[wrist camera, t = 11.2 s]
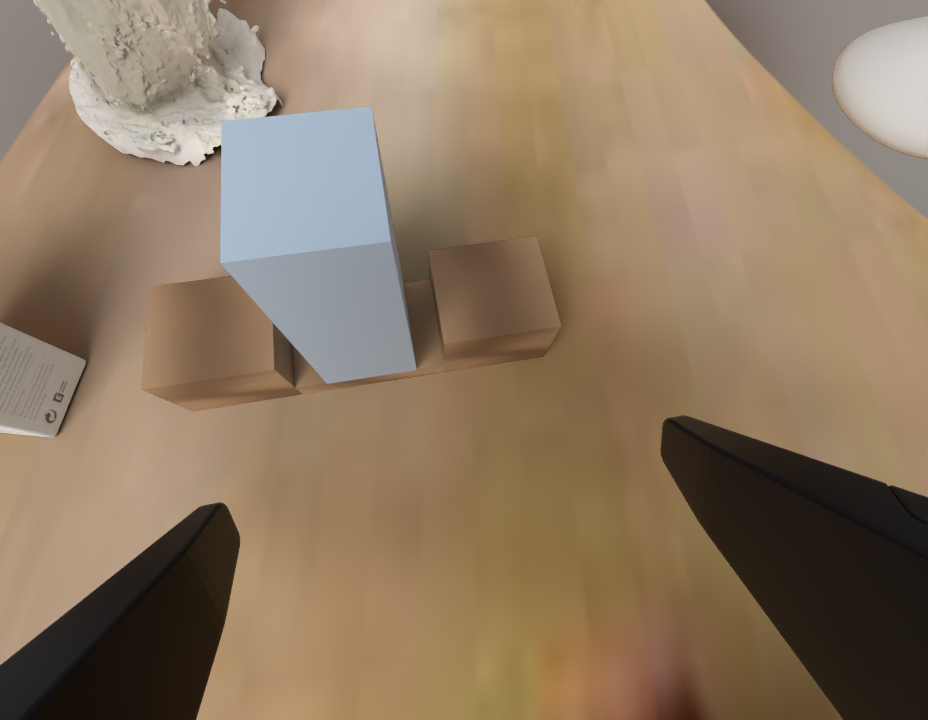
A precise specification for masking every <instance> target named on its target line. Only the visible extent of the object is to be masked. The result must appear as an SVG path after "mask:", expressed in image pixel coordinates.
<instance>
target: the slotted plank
mask: <svg viewBox="0 0 928 720" xmlns="http://www.w3.org/2000/svg"><path fill="white" fill-rule="evenodd" d="M428 259H429V273H430V280H424V281H417V282H409V283H404V287H405V294H406V300H407V307H408V314H409V320H410V327H411V334H412V340H413V347H414V354H415V361H416V367H417V370H413V371H407V372H401V373H394V374H388V375H381V376H375V377H368V378H362V379H356V380H349V381H343V382H336V383H330V384H327V383H326V382H325V381H324V380H323V379H322V377H321V376H320V375H319V374H318V373H317V372H316V371H315V370H314V368H313V367H312V366H311V365H310V364H309V363H308V362H307V360H306V359H305V358H304V357H303V356H302V355H301V354H300V353H299V351H298V350H297V349H296V348H295V347H294V346H293V345H292V344H291V342H290V341H289V340H288V339H287V338H286V337H285V336H284V334H283V333H282V332H281V331H280V330H279V329H278V328H277V327H276V325H275V324H274V323H273V322H272V321H271V320H270V319H269V318H268V316H267V315H266V314H265V313H264V312H263V311H262V310H261V309H260V307H259V306H258V305H257V304H256V303H255V302H254V301H253V299H252V298H251V297H250V296H249V295H248V294H247V293H246V292H245V290H244V289H243V288H242V287H241V286H240V285H239V284H238V283H237V281H236V280H235V279H234V278H233V277H232V276H228V277H220V278H212V279H205V280H197V281H189V282H182V283H174V284H166V285H159V286H151V287H149V292H148V306H147V320H146V334H145V349H144V363H143V377H142V390H144V391H146V392H148V393H151V394H153V395H156V396H158V397H160V398H163V399H165V400H167V401H170V402H172V403H174V404H177V405H179V406H181V407H184V408H186V409H188V410H191V411H198V410H205V409H211V408H217V407H224V406H230V405H237V404H243V403H249V402H256V401H262V400H268V399H275V398H281V397H288V396H294V395H300V394H307V393H313V392H319V391H326V390H332V389H339V388H345V387H351V386H358V385H364V384H370V383H377V382H383V381H390V380H396V379H402V378H409V377H415V376H421V375H428V374H434V373H441V372H447V371H453V370H460V369H466V368H472V367H479V366H485V365H492V364H498V363H504V362H511V361H517V360H523V359H530V358H536V357H543V356H544V355H545V353H546V352H547V350H548V348H549V346H550V345H551V343H552V341H553V340H554V338H555V336H556V335H557V333H558V331H559V330H560V328H561V323H560V319H559V315H558V312H557V308H556V305H555V301H554V297H553V294H552V290H551V286H550V283H549V279H548V275H547V272H546V268H545V264H544V261H543V257H542V254H541V250H540V246H539V243H538V239H537V236H534V237H527V238H519V239H511V240H504V241H496V242H488V243H481V244H473V245H465V246H458V247H450V248H442V249H435V250H428Z"/></svg>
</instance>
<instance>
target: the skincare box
mask: <svg viewBox="0 0 928 720" xmlns="http://www.w3.org/2000/svg"><path fill="white" fill-rule="evenodd" d="M85 364H86V361H85V360H84V359H82V358H80V357H78V356H75V355H73V354H71V353H68V352H66V351H64V350H62V349H59V348H57V347H55V346H52V345H50V344H48V343H46V342H44V341H41V340H39V339H37V338H34V337H32V336H30V335H27V334H25V333H23V332H20V331H18V330H16V329H14V328H12V327H9V326H7V325H5V324H3V323H1V322H0V432H1V433H11V434H22V435H32V436H43V437H54V436H55V435H56V434H57V432H58V429H59V427H60V425H61V422H62V420H63V418H64V415H65V413H66V410H67V407H68V405H69V403H70V400H71V398H72V395H73V393H74V390H75V388H76V386H77V383H78V381H79V379H80V376H81V374H82V372H83V369H84V367H85Z"/></svg>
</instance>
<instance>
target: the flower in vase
mask: <svg viewBox="0 0 928 720" xmlns="http://www.w3.org/2000/svg"><path fill="white" fill-rule="evenodd" d="M832 88H833V92H834V95H835V98H836V100H837V102H838V104H839V106H840V107H841V109H842V111H843V112H844V113H845V115H846V116H847V117H848V118H849V119H850V120H851V121H852V122H853V124H854V125H856V126H857V127H858V128H859V129H860V130H861V131H862V132H864V133H865V134H867V135H868V136H869V137H871V138H873V139H874V140H876V141H877V142H879V143H881V144H883V145H885V146H887V147H889V148H891V149H893V150H896V151H898V152H901V153H904V154H907V155H910V156H914V157H919V158H924V159H928V16H926V17H920V18H915V19H910V20H905V21H900V22H895V23H892V24H889V25H886V26H883V27H880V28H877V29H873V30H870V31H868V32H866V33H865V34H863V35H861V36H860V37H858V38H857V39H855V40H854V41H852V42H851V43H850V44H848V45H847V46H845V47H844V48H843V50H842V51H841V52H840V53H839V55H838V56H837V58H836V61H835V64H834V69H833V75H832Z"/></svg>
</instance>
